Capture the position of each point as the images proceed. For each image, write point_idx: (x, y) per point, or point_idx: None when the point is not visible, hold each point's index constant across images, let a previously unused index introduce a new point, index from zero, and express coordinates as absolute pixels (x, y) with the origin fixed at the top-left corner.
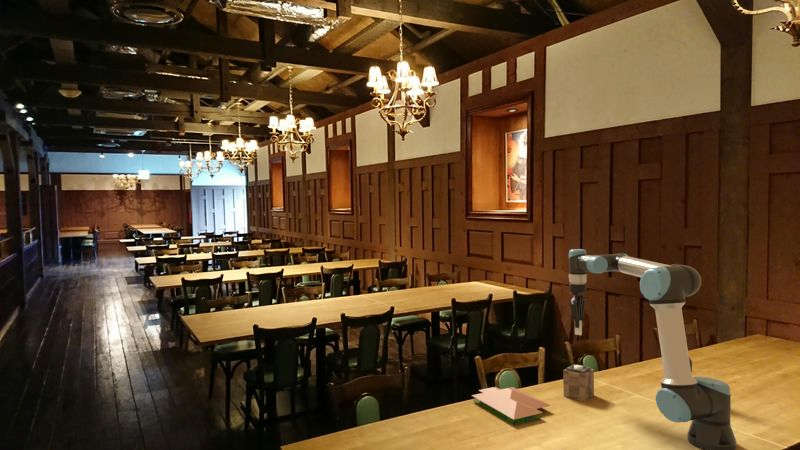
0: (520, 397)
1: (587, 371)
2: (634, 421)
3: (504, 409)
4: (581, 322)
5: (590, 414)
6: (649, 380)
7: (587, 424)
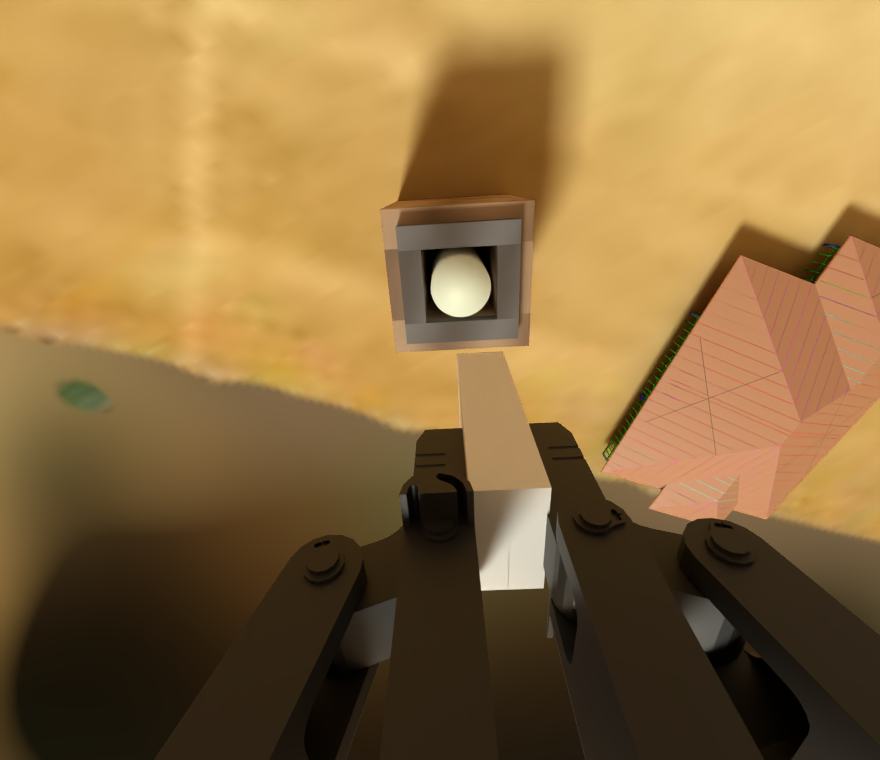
0: (808, 369)
1: (453, 221)
2: None
3: None
4: (477, 461)
5: (660, 82)
6: None
7: (804, 24)
